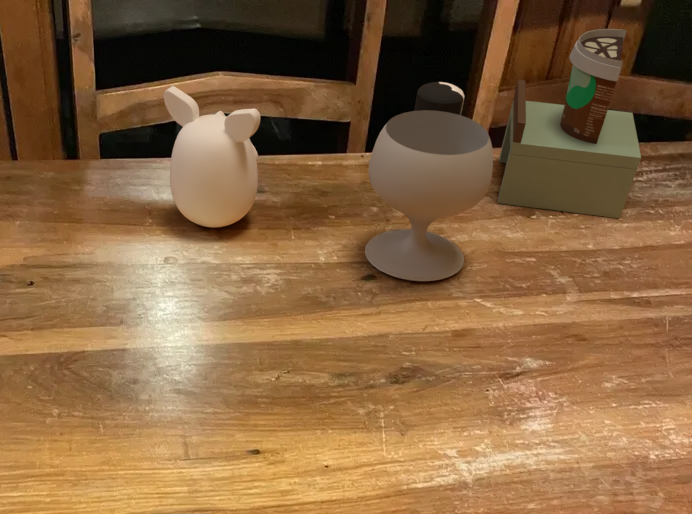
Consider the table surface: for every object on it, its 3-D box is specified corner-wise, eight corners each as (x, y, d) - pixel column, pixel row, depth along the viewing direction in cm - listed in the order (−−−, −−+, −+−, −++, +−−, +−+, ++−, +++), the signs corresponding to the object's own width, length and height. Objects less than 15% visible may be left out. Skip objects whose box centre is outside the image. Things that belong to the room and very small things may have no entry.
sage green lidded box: (612, 171, 132) (639, 92, 124) (619, 218, 123) (648, 137, 115) (499, 158, 134) (518, 79, 126) (497, 203, 125) (518, 121, 117)
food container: (555, 104, 127) (577, 21, 119) (601, 111, 126) (627, 28, 118) (547, 141, 119) (570, 55, 112) (596, 148, 118) (623, 63, 111)
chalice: (364, 287, 110) (382, 159, 98) (351, 228, 119) (366, 104, 108) (481, 289, 111) (513, 161, 99) (459, 230, 120) (486, 107, 108)
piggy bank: (269, 205, 122) (277, 82, 111) (248, 249, 115) (253, 122, 103) (179, 191, 124) (176, 69, 112) (151, 233, 116) (146, 107, 105)
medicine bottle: (423, 198, 125) (441, 103, 116) (388, 176, 129) (402, 83, 120) (461, 184, 128) (481, 91, 119) (425, 164, 132) (442, 72, 122)
